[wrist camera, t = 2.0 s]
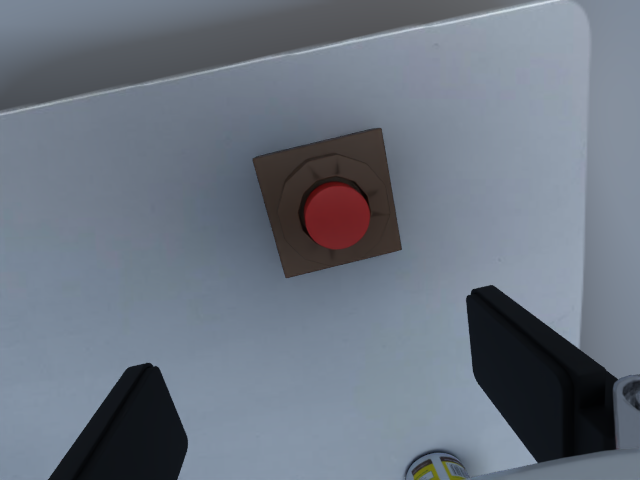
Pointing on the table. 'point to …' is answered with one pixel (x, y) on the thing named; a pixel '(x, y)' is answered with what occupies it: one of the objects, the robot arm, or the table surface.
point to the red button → (336, 215)
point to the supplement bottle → (437, 468)
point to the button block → (314, 170)
